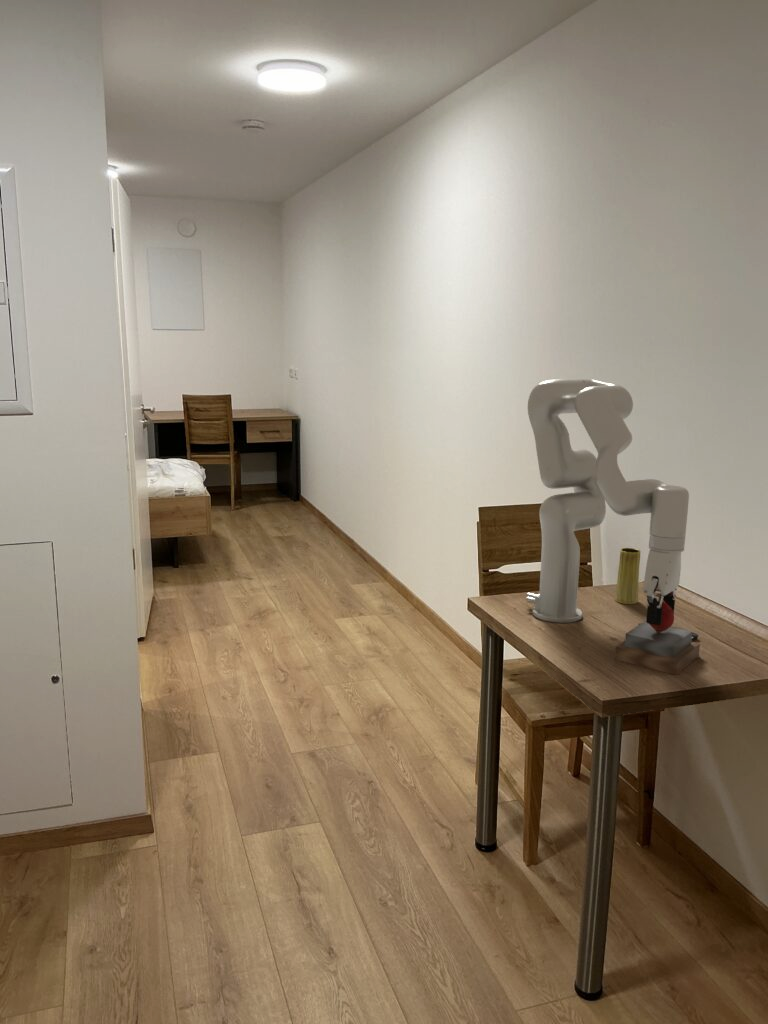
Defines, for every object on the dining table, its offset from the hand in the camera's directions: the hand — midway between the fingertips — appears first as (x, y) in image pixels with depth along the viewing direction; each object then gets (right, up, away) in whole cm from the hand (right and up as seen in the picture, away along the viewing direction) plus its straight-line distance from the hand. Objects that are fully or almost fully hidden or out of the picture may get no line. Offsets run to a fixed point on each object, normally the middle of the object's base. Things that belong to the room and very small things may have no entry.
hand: (660, 619), depth 195 cm
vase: (+4, 0, +42) cm, 42 cm away
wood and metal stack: (0, -9, +2) cm, 9 cm away
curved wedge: (+8, -7, +17) cm, 20 cm away
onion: (0, -3, +1) cm, 3 cm away
